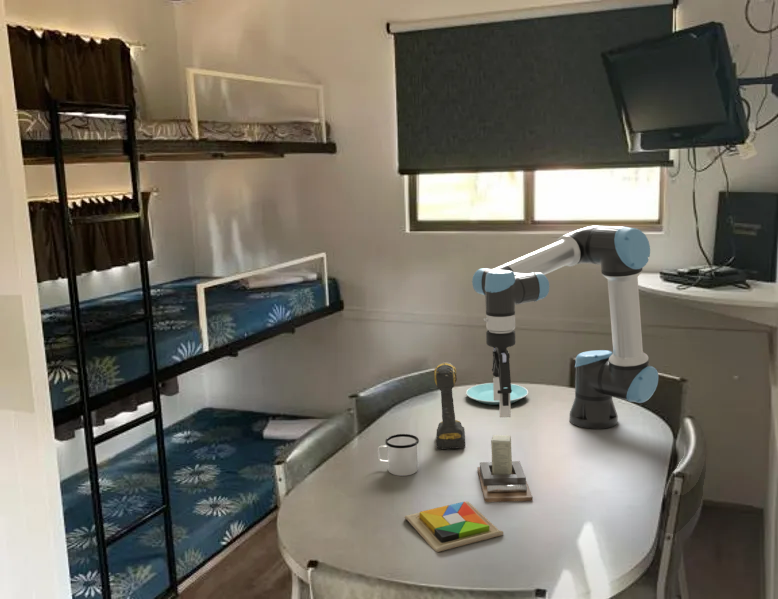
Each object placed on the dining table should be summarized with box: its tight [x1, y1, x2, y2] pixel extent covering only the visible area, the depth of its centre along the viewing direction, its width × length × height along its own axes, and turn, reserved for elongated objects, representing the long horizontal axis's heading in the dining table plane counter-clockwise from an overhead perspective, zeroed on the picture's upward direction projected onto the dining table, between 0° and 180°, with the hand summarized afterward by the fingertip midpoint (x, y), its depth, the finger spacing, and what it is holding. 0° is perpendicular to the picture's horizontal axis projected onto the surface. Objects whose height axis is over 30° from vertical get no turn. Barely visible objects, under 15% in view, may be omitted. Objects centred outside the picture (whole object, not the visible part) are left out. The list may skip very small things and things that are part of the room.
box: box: [490, 434, 513, 475], centre depth 207 cm, size 5×4×11 cm
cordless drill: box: [433, 361, 466, 450], centre depth 236 cm, size 9×20×25 cm, turn 174°
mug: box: [377, 433, 420, 477], centre depth 217 cm, size 12×10×9 cm
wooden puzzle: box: [404, 501, 504, 553], centre depth 182 cm, size 18×19×4 cm
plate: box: [465, 382, 529, 406], centre depth 277 cm, size 22×22×3 cm
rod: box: [487, 485, 527, 493], centre depth 198 cm, size 10×2×2 cm, turn 89°
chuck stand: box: [477, 460, 533, 503], centre depth 205 cm, size 12×20×3 cm, turn 179°
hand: (501, 408), depth 204 cm, fingers open, 13 cm apart
